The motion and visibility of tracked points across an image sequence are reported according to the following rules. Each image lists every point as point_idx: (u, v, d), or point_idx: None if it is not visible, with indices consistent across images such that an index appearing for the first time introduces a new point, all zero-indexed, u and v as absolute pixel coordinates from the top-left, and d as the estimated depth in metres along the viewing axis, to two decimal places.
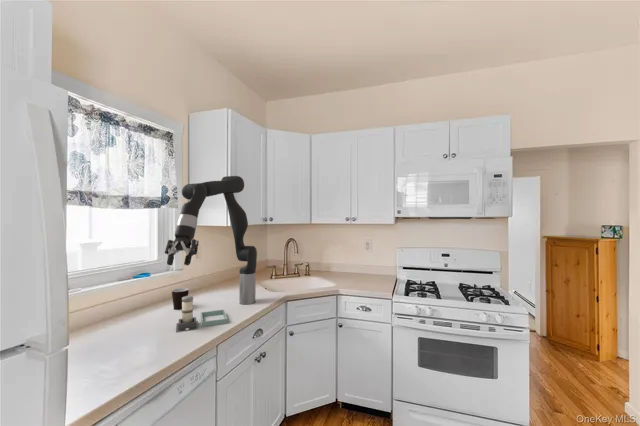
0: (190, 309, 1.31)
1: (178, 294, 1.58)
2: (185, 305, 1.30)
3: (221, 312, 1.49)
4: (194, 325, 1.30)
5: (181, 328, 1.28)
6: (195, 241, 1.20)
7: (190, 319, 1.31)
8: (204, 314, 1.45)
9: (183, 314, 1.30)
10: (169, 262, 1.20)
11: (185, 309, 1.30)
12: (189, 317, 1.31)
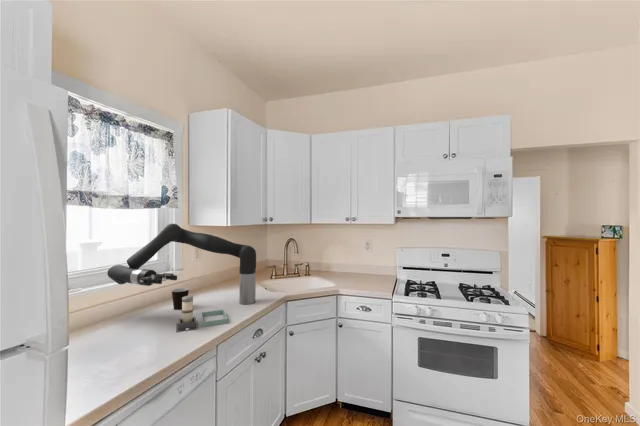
0: (190, 309, 1.31)
1: (178, 294, 1.58)
2: (185, 305, 1.30)
3: (221, 312, 1.49)
4: (194, 325, 1.30)
5: (181, 328, 1.28)
6: (140, 282, 1.33)
7: (190, 319, 1.31)
8: (204, 314, 1.45)
9: (183, 314, 1.30)
10: (174, 279, 1.40)
11: (185, 309, 1.30)
12: (189, 317, 1.31)
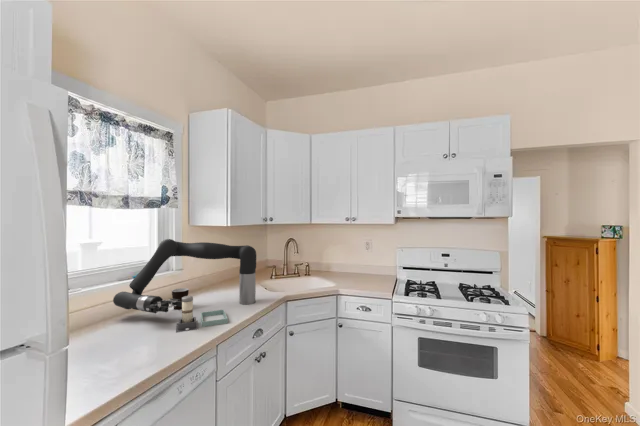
0: (190, 309, 1.31)
1: (178, 294, 1.58)
2: (185, 305, 1.30)
3: (221, 312, 1.49)
4: (194, 325, 1.30)
5: (181, 328, 1.28)
6: (147, 310, 1.32)
7: (190, 319, 1.31)
8: (204, 314, 1.45)
9: (183, 314, 1.30)
10: (180, 305, 1.39)
11: (185, 309, 1.30)
12: (189, 317, 1.31)
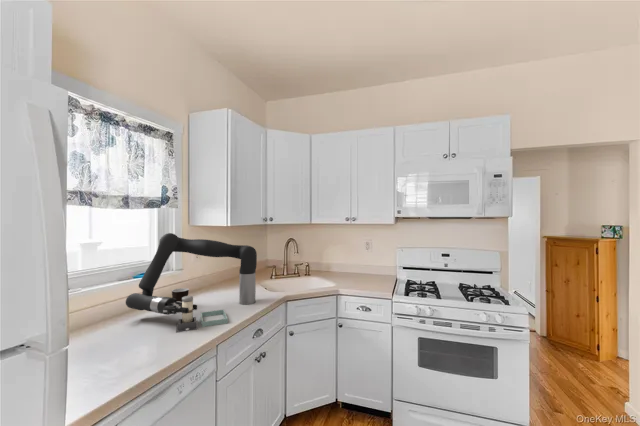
0: (190, 309, 1.31)
1: (178, 294, 1.58)
2: (185, 305, 1.30)
3: (221, 312, 1.49)
4: (194, 325, 1.30)
5: (181, 328, 1.28)
6: (164, 312, 1.28)
7: (190, 319, 1.31)
8: (204, 314, 1.45)
9: (183, 314, 1.30)
10: (194, 308, 1.34)
11: None
12: (189, 317, 1.31)
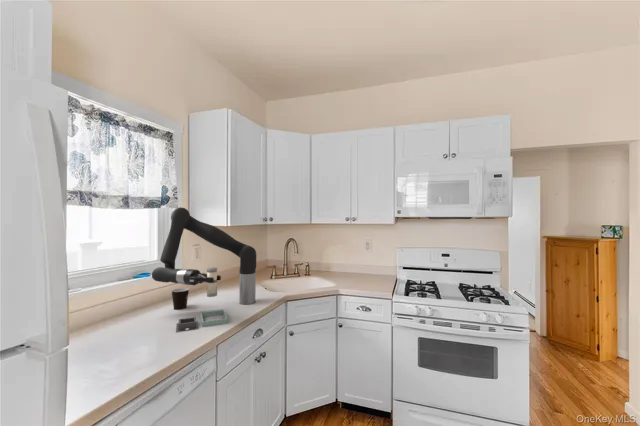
0: (215, 279, 1.39)
1: (178, 294, 1.58)
2: (210, 275, 1.38)
3: (221, 312, 1.49)
4: (194, 325, 1.30)
5: (181, 328, 1.28)
6: (191, 282, 1.36)
7: (215, 289, 1.39)
8: (204, 314, 1.45)
9: (208, 284, 1.38)
10: (218, 279, 1.42)
11: None
12: (214, 287, 1.39)
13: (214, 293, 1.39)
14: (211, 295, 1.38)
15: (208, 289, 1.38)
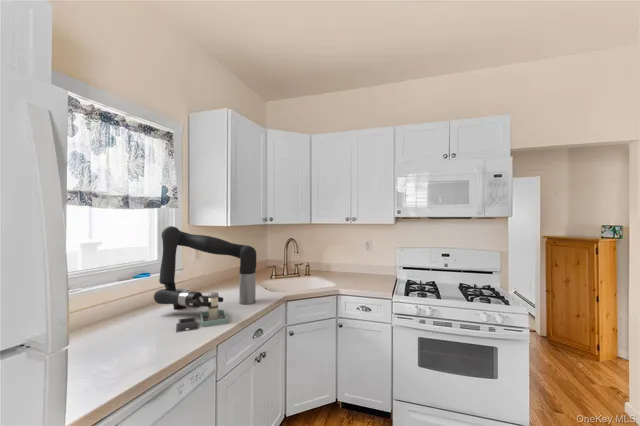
0: (216, 305, 1.39)
1: None
2: (211, 301, 1.38)
3: (221, 312, 1.49)
4: (194, 325, 1.30)
5: (181, 328, 1.28)
6: (190, 305, 1.37)
7: (216, 314, 1.39)
8: (204, 314, 1.45)
9: (209, 309, 1.39)
10: (220, 301, 1.44)
11: (212, 304, 1.38)
12: (215, 312, 1.39)
13: (215, 318, 1.39)
14: None
15: (209, 315, 1.39)
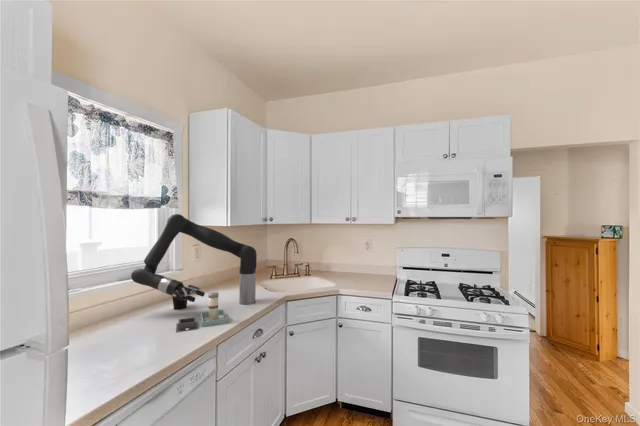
0: (216, 305, 1.40)
1: None
2: (212, 301, 1.39)
3: (221, 312, 1.49)
4: (194, 325, 1.30)
5: (181, 328, 1.28)
6: (173, 296, 1.41)
7: (216, 314, 1.40)
8: (204, 314, 1.45)
9: (210, 309, 1.39)
10: (201, 295, 1.50)
11: (212, 304, 1.38)
12: (215, 312, 1.39)
13: (215, 318, 1.39)
14: None
15: (209, 314, 1.39)
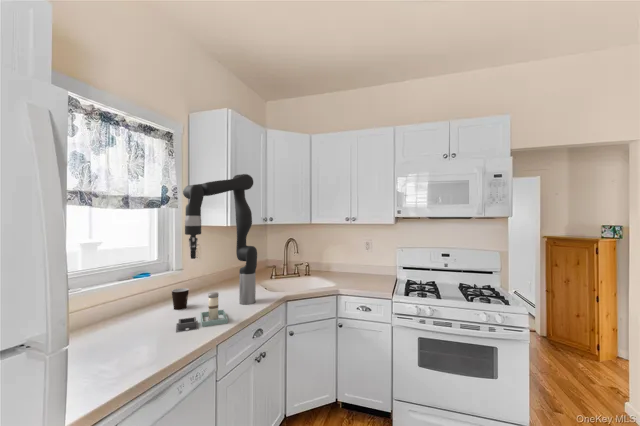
0: (216, 305, 1.40)
1: (178, 294, 1.58)
2: (212, 301, 1.39)
3: (221, 312, 1.49)
4: (194, 325, 1.30)
5: (181, 328, 1.28)
6: (192, 239, 1.39)
7: (216, 314, 1.40)
8: (204, 314, 1.45)
9: (210, 309, 1.39)
10: (191, 255, 1.49)
11: (212, 304, 1.38)
12: (215, 312, 1.39)
13: (215, 318, 1.39)
14: None
15: (209, 314, 1.39)
